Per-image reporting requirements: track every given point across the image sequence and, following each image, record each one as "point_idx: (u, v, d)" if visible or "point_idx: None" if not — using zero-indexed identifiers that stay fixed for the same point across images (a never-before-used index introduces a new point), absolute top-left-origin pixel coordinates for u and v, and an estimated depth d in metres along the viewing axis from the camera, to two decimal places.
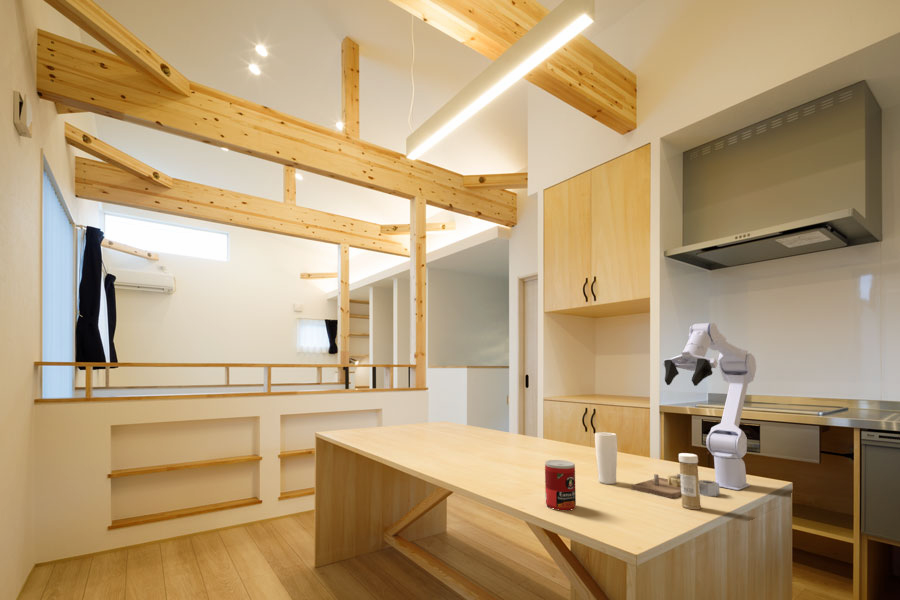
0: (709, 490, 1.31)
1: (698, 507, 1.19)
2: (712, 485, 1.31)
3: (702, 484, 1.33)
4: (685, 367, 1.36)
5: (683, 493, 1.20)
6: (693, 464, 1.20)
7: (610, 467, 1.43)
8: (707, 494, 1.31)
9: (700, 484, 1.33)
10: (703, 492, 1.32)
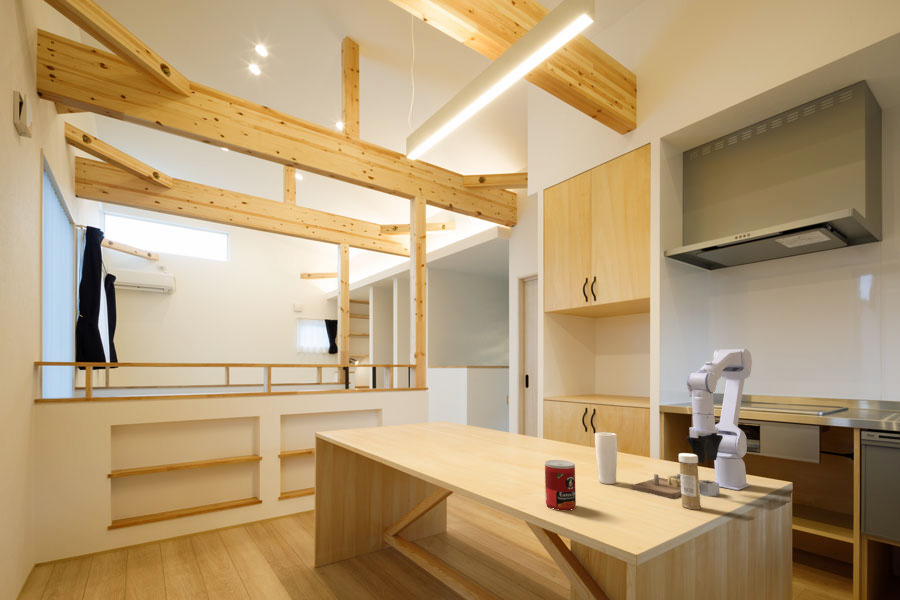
0: (709, 490, 1.31)
1: (698, 507, 1.19)
2: (712, 485, 1.31)
3: (702, 484, 1.33)
4: None
5: (683, 493, 1.20)
6: (693, 464, 1.20)
7: (610, 467, 1.43)
8: (707, 494, 1.31)
9: (700, 484, 1.33)
10: (703, 492, 1.32)
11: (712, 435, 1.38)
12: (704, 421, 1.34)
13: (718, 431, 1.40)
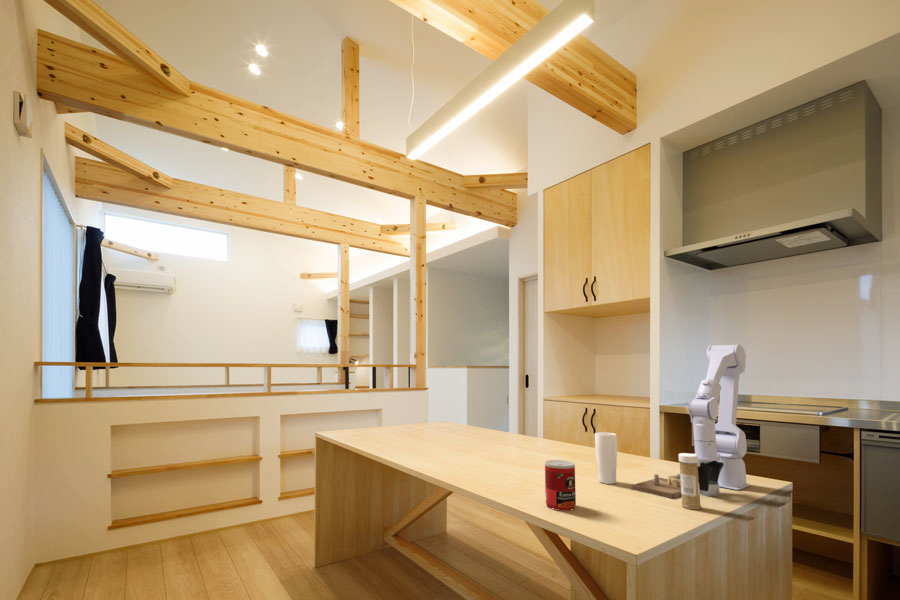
0: (709, 490, 1.31)
1: (698, 507, 1.19)
2: (712, 485, 1.31)
3: None
4: None
5: (683, 493, 1.20)
6: (693, 464, 1.20)
7: (610, 467, 1.43)
8: (707, 494, 1.31)
9: None
10: (703, 492, 1.32)
11: (712, 462, 1.36)
12: (706, 449, 1.33)
13: (720, 457, 1.38)
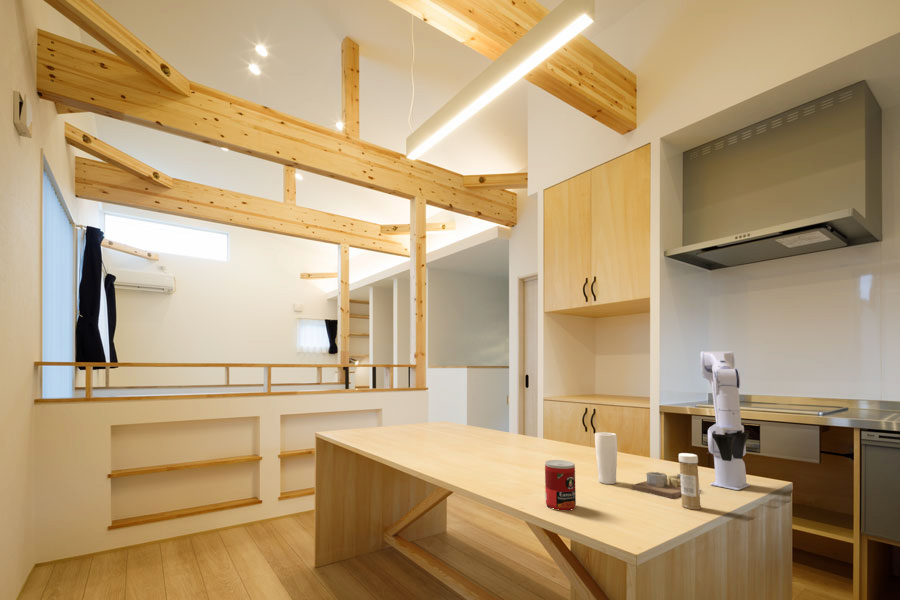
0: (657, 481, 1.36)
1: (698, 507, 1.19)
2: (660, 477, 1.36)
3: (651, 476, 1.37)
4: None
5: (683, 493, 1.20)
6: (693, 464, 1.20)
7: (610, 467, 1.43)
8: (655, 485, 1.36)
9: (649, 476, 1.38)
10: (651, 483, 1.37)
11: (737, 433, 1.34)
12: (730, 418, 1.30)
13: (743, 429, 1.36)
